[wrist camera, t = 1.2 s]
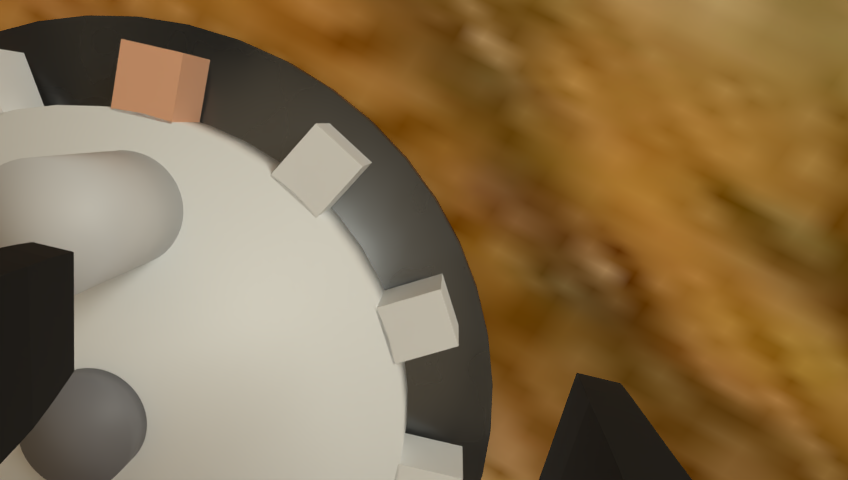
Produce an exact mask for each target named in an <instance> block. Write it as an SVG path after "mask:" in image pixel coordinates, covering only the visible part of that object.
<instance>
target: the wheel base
mask: <svg viewBox="0 0 848 480" xmlns="http://www.w3.org/2000/svg"><path fill="white" fill-rule="evenodd" d="M121 39H125V40H129V41H133V42H138V43H142V44H147V45H151V46H155V47H160V48H164V49H168V50H173V51H177V52H181V53H185V54H189V55H193V56H197V57H201V58H205V59H209V60H210V64H209V70H208V76H207V82H206V87H205V93H204V99H203V105H202V111H201V117H200V123H204V124H207V125H210V126H213V127H215V128H217V129H219V130H221V131H224V132H226V133H228V134H230V135H233V136H235V137H237V138H239V139H242V140H244V141H246V142H248V143H249V144H251V145H253V146H254V147H256V148H257V149H259V150H261V151H262V152H264V153H266V154H267V155H269V156H271V157H272V158H274V159H275V160H277V161H279V162H280V163H281V162H282V161H283V160H284V159H285V158H286V157H287V155H288V154H289V153H290V152H291V151H292V150H293V149H294V148H295V146H296V145H297V144H298V143H299V142H300V141H301V140H302V138H303V137H304V136H305V135H306V134H307V133H308V132H309V131H310V129H311V128H312V127H313V126H314V125H315V124H316V123H330V124H331V125H332V126H333V127H334V128H335V129H336V130H337V131H338V132H340V133H341V134H342V135H343V136H344V137H345V138H346V139H347V140H348V141H349V142H350V143H351V144H353V145H354V146H355V147H356V148H357V149H358V150H359V151H360V152H361V153H362V154H363V155H364V156H365V157H367V158H368V159H369V160H370V161H371V162H372V163H371V164H370V165H369V166H368V167H367V169H366V170H365V171H364V172H363V173H362V174H361V175H360V176H359V177H358V178H357V180H356V181H355V182H354V183H353V184H352V185H351V186H350V187H349V188H348V190H347V191H346V192H345V193H344V194H343V195H342V196H341V197H340V198H339V199H338V201H337V202H336V203H335V204H334V205H333V206H332V207H331V208H332V209H333V211H334V212H335V213H336V214H337V215H338V216H339V217H340V218H341V220H342V221H343V222H344V224H345V225H346V226H347V228H348V229H349V231H350V232H351V233H352V235H353V236H354V237H355V239H356V240H357V241H358V243H359V244H360V245H361V247H362V248H363V250H364V252H365V254H366V256H367V257H368V259H369V261H370V263H371V264H372V266H373V268H374V270H375V272H376V273H377V275H378V277H379V279H380V281H381V283H382V286H383V288H384V290H387V289H391V288H394V287H398V286H401V285H404V284H408V283H411V282H415V281H418V280H421V279H425V278H428V277H432V276H435V275H438V274H443V277H444V280H445V283H446V287H447V290H448V293H449V296H450V299H451V303H452V306H453V309H454V312H455V315H456V319H457V322H458V325H459V346H457V347H454V348H450V349H447V350H443V351H440V352H436V353H433V354H429V355H426V356H422V357H419V358H415V359H411V360H408V361H405V369H406V378H407V387H408V392H407V425H406V431H405V433H407V434H412V435H416V436H420V437H424V438H429V439H433V440H437V441H441V442H446V443H450V444H454V445H459V446H462V451H463V480H481V477H482V474H483V468H484V463H485V457H486V452H487V447H488V441H489V436H490V429H491V406H492V375H491V364H490V354H489V343H488V334H487V329H486V325H485V320H484V316H483V312H482V308H481V303H480V299H479V295H478V290H477V286H476V284H475V281H474V278H473V276H472V273H471V270H470V268H469V265H468V262H467V260H466V257H465V255H464V252H463V249H462V247H461V244H460V241H459V240H458V238H457V236H456V234H455V232H454V230H453V228H452V227H451V225H450V223H449V221H448V219H447V217H446V215H445V214H444V212H443V210H442V208H441V206H440V204H439V203H438V201H437V199H436V197H435V196H434V195H433V193H432V192H431V190H430V189H429V188H428V186H427V185H426V184H425V182H424V181H423V179H422V178H421V177H420V175H419V174H418V172H417V171H416V170H415V168H414V167H413V166H412V164H411V163H410V161H409V160H408V159H407V157H406V156H405V155H404V154H403V153H402V152H401V151H400V150H399V149H398V148H397V147H396V146H395V145H394V144H393V143H392V142H391V141H390V139H389V138H388V137H387V136H386V135H385V134H384V133H383V132H382V131H381V130H380V129H379V128H378V127H377V126H376V125H375V124H374V122H372V121H371V120H370V119H369V118H368V117H366V116H365V115H364V114H363V113H361V112H360V111H359V110H358V109H357V108H355V107H354V106H353V105H352V104H350V103H349V102H348V101H347V100H346V99H344V98H343V97H342V96H341V95H339V94H338V93H337V92H336V91H335V90H333V89H332V88H330V87H328V86H327V85H325V84H324V83H322V82H320V81H319V80H317V79H315V78H314V77H312V76H311V75H309V74H307V73H306V72H304V71H303V70H301V69H299V68H298V67H296V66H295V65H293V64H291V63H289V62H287V61H285V60H283V59H281V58H278V57H276V56H274V55H272V54H269V53H267V52H265V51H263V50H261V49H258V48H256V47H254V46H252V45H250V44H247V43H245V42H243V41H240V40H237V39H234V38H231V37H227V36H224V35H221V34H217V33H214V32H211V31H207V30H204V29H201V28H197V27H194V26H191V25H186V24H180V23H174V22H168V21H161V20H155V19H149V18H143V17H128V16H80V17H71V18H63V19H54V20H46V21H37V22H34V23H30V24H26V25H22V26H19V27H15V28H11V29H7V30H4V31H0V49H3V50H9V51H15V52H21V53H24V54H25V57H26V60H27V62H28V65H29V68H30V70H31V73H32V75H33V78H34V81H35V83H36V86H37V89H38V91H39V94H40V97H41V99H42V102H43V104H44V106H51V105H76V106H107V107H111V103H112V96H113V90H114V83H115V76H116V70H117V63H118V56H119V50H120V43H121Z"/></svg>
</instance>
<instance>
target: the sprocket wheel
mask: <svg viewBox="0 0 848 480" xmlns="http://www.w3.org/2000/svg"><path fill="white" fill-rule="evenodd" d="M209 64H210V60H209V59H205V58H201V57H197V56H193V55H189V54H185V53H181V52H177V51H173V50H168V49H164V48H160V47H155V46H151V45H147V44H142V43H138V42H133V41H129V40H125V39H121V43H120V50H119V56H118V63H117V70H116V76H115V83H114V90H113V96H112V103H111V107H107V106H76V105H51V106H44V104H43V102H42V99H41V97H40V94H39V91H38V89H37V86H36V83H35V81H34V78H33V75H32V73H31V70H30V68H29V65H28V62H27V60H26V57H25V54H24V53H21V52H15V51H9V50H3V49H0V248H2V247H6V246H11V245H16V244H23V243H29V242H35V243H39V244H43V245H47V246H51V247H56V248H60V249H64V250H68V251H72V252H74V372H73V374H72V375H71V377H70V378H69V380H68V381H67V382H66V384H65V385H64V387H63V388H62V390H61V391H60V393H59V394H58V396H57V397H56V398H55V400H54V401H53V403H52V404H51V405H50V407H49V408H48V409H47V411H46V412H45V413H44V415H43V416H42V417H41V419H40V420H39V422H38V423H37V424H36V426H35V427H34V428H33V429H32V430H31V432H30V433H29V434H28V435H27V436H26V437H25V438H24V439H23V440H22V441H21V443H20V444H19V445H18V446H17V447H16V448H15V449H14V450H13V451H12V452H11V453H10V454H9V455H8V456H7V458H6V459H5V460H4V461H3V462H2V463H1V464H0V480H463V451H462V446H459V445H454V444H450V443H446V442H441V441H437V440H433V439H429V438H424V437H420V436H416V435H412V434H407V433H405V431H406V425H407V392H408V387H407V378H406V369H405V361H408V360H411V359H415V358H419V357H422V356H426V355H429V354H433V353H436V352H440V351H443V350H447V349H450V348H454V347H457V346H459V325H458V322H457V319H456V315H455V312H454V309H453V306H452V303H451V299H450V296H449V293H448V290H447V287H446V283H445V280H444V277H443V274H438V275H435V276H432V277H428V278H425V279H421V280H418V281H415V282H411V283H408V284H404V285H401V286H398V287H394V288H391V289H387V290H384V288H383V286H382V283H381V281H380V279H379V277H378V275H377V273H376V272H375V270H374V268H373V266H372V264H371V263H370V261H369V259H368V257H367V256H366V254H365V252H364V250H363V248H362V247H361V245H360V244H359V243H358V241H357V240H356V239H355V237H354V236H353V235H352V233H351V232H350V231H349V229H348V228H347V226H346V225H345V224H344V222H343V221H342V220H341V218H340V217H339V216H338V215H337V214H336V213H335V212H334V211H333V209H332V208H331V207H332V206H333V205H334V204H335V203H336V202H337V201H338V199H339V198H340V197H341V196H342V195H343V194H344V193H345V192H346V191H347V190H348V188H349V187H350V186H351V185H352V184H353V183H354V182H355V181H356V180H357V178H358V177H359V176H360V175H361V174H362V173H363V172H364V171H365V170H366V169H367V167H368V166H369V165H370V164H371V163H372V162H371V161H370V160H369V159H368V158H367V157H365V156H364V155H363V154H362V153H361V152H360V151H359V150H358V149H357V148H356V147H355V146H354V145H353V144H351V143H350V142H349V141H348V140H347V139H346V138H345V137H344V136H343V135H342V134H341V133H340V132H338V131H337V130H336V129H335V128H334V127H333V126H332V125H331V124H330V123H316V124H315V125H314V126H313V127H312V128H311V129H310V131H309V132H308V133H307V134H306V135H305V136H304V137H303V138H302V140H301V141H300V142H299V143H298V144H297V145H296V146H295V148H294V149H293V150H292V151H291V152H290V153H289V154H288V155H287V157H286V158H285V159H284V160H283V161H282V162H281V163H280V162H279V161H277V160H275V159H274V158H272V157H271V156H269V155H267V154H266V153H264V152H262V151H261V150H259V149H257V148H256V147H254V146H253V145H251V144H249V143H248V142H246V141H244V140H242V139H239V138H237V137H235V136H233V135H230V134H228V133H226V132H224V131H221V130H219V129H217V128H215V127H213V126H210V125H207V124H204V123H200V117H201V111H202V105H203V99H204V93H205V87H206V82H207V76H208V70H209Z"/></svg>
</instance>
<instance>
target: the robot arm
mask: <svg viewBox="0 0 848 480" xmlns="http://www.w3.org/2000/svg"><path fill="white" fill-rule="evenodd" d="M73 372H74V252H72V251H68V250H64V249H60V248H56V247H51V246H47V245H43V244H39V243H35V242H29V243H23V244H16V245H11V246H6V247H2V248H0V464H1V463H2V462H3V461H4V460H5V459H6V458H7V456H8V455H9V454H10V453H11V452H12V451H13V450H14V449H15V448H16V447H17V446H18V445H19V444H20V443H21V441H22V440H23V439H24V438H25V437H26V436H27V435H28V434H29V433H30V432H31V430H32V429H33V428H34V427H35V426H36V424H37V423H38V422H39V420H40V419H41V417H42V416H43V415H44V413H45V412H46V411H47V409H48V408H49V407H50V405H51V404H52V403H53V401H54V400H55V398H56V397H57V396H58V394H59V393H60V391H61V390H62V388H63V387H64V385H65V384H66V382H67V381H68V380H69V378H70V377H71V375H72V374H73ZM539 480H692V479H691V478H690V477H689V475H688V474H687V473H686V471H685V470H684V469H683V467H682V466H681V465H680V463H679V462H678V461H677V459H676V458H675V457H674V455H673V454H672V453H671V451H670V450H669V449H668V447H667V446H666V444H665V443H664V442H663V440H662V439H661V437H660V436H659V435H658V433H657V432H656V431H655V429H654V428H653V426H652V425H651V424H650V422H649V421H648V420H647V418H646V417H645V415H644V414H643V413H642V411H641V410H640V408H639V407H638V406H637V404H636V403H635V402H634V400H633V399H632V398H631V396H630V395H629V394H628V392H627V391H626V390H625V388H624V387H623V386H622V385H621V383H617V382H612V381H608V380H604V379H600V378H596V377H592V376H588V375H583V374H579V373H577V374H576V377H575V379H574V382H573V385H572V388H571V391H570V394H569V397H568V399H567V402H566V405H565V408H564V411H563V414H562V416H561V419H560V422H559V425H558V428H557V431H556V433H555V436H554V439H553V442H552V445H551V448H550V450H549V453H548V456H547V459H546V462H545V465H544V467H543V470H542V473H541V476H540V479H539Z"/></svg>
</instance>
